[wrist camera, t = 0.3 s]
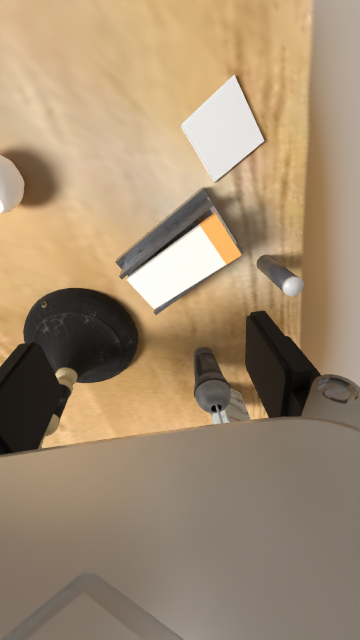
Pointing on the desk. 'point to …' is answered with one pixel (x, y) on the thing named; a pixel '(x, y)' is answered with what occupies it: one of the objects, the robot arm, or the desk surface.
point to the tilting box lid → (185, 262)
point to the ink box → (232, 410)
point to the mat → (223, 130)
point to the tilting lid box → (170, 237)
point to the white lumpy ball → (10, 185)
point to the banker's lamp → (81, 339)
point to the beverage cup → (210, 383)
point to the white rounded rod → (280, 275)
